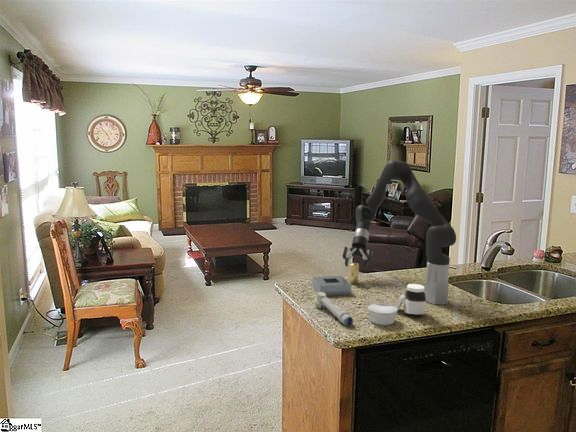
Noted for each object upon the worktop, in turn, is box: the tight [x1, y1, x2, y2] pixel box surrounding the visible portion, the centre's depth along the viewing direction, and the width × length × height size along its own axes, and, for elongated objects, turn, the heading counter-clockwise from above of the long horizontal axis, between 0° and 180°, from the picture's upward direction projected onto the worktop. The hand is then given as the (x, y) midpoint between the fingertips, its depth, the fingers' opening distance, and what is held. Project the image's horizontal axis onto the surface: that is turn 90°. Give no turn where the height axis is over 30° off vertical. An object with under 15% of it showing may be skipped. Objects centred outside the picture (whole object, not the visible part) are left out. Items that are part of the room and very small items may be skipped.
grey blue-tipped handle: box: [314, 292, 354, 327], centre depth 190 cm, size 5×7×25 cm
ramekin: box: [367, 302, 398, 326], centre depth 185 cm, size 11×11×5 cm
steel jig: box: [312, 275, 352, 296], centre depth 221 cm, size 14×14×4 cm
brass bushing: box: [348, 262, 360, 285], centre depth 232 cm, size 4×4×10 cm
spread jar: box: [394, 283, 427, 318], centre depth 193 cm, size 12×11×12 cm
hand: (355, 267), depth 233 cm, fingers open, 8 cm apart
